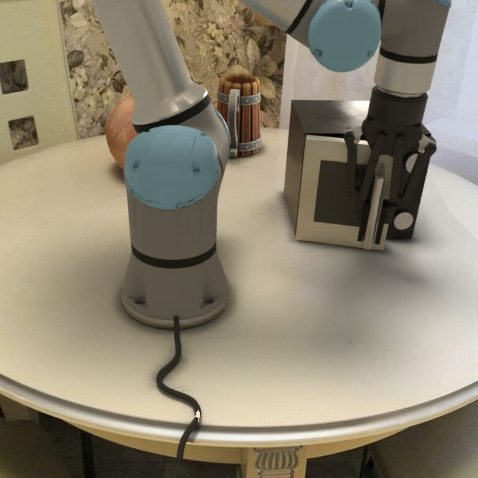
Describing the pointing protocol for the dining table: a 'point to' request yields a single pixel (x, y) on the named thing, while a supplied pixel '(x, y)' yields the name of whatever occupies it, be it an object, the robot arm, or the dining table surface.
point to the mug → (241, 112)
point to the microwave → (334, 125)
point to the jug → (120, 129)
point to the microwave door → (339, 194)
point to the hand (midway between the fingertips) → (368, 238)
